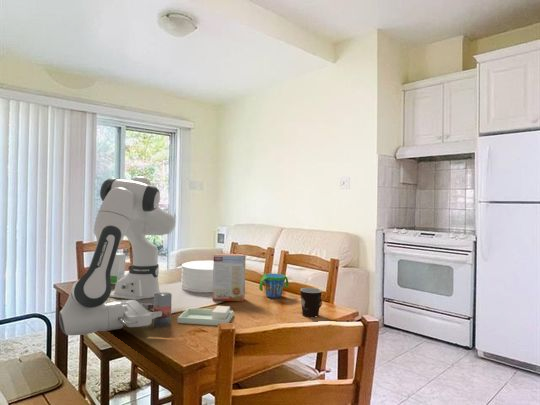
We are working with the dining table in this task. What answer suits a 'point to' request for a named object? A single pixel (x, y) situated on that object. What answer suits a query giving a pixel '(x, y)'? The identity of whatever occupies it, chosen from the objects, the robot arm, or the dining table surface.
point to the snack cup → (273, 284)
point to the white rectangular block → (221, 312)
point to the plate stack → (197, 276)
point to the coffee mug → (310, 301)
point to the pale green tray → (201, 317)
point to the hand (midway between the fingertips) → (157, 309)
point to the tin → (162, 309)
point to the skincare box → (118, 268)
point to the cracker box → (229, 277)
